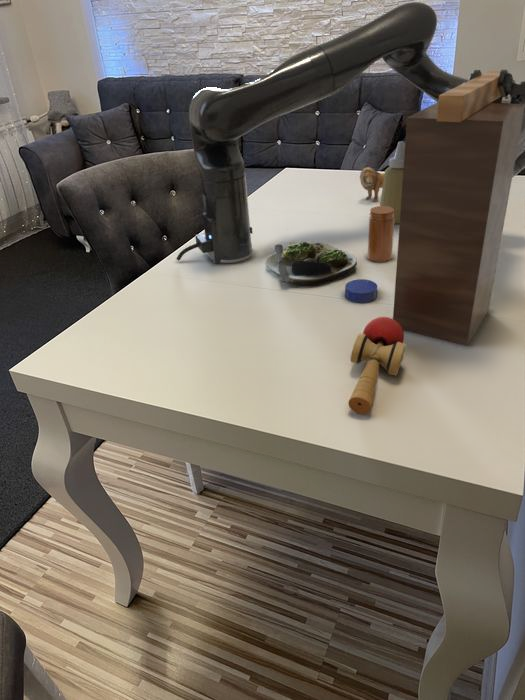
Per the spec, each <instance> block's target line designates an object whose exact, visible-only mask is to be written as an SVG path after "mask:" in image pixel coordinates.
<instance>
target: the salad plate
mask: <svg viewBox="0 0 525 700" xmlns="http://www.w3.org/2000/svg"><path fill="white" fill-rule="evenodd" d="M273 249H274V253H272V254H270V255H268V256H267V257H266V259H265V260H264V263H265V266H266V267H267V268H268V269H269V270H270V271H272V272H273V273H275V274H277V276H279V278H280V279H281V280H282V281H284V282H285V283H287V282H288V283H290V284H291V285H294V286H299V287H301V286H302V287H315V286H320V285H323V284H327V283H332V282H334V281H337V280H340V279H342V278H345V277H347V276H348V275H350V274H351V273H352V272H353V271H354V270H355V269H356V268H357V265H358V260H357V259H358V258H357V257H356V256H355V255H354V254H353V253H352V254H351V253H349V252H347V251H344V250H342V249H341V248H338V247H336V246H334V245H331V244H329V243H325V242H307V241H302V242H299V243H295V244H293V243H292V242H289V243H288V246H287V248H286V249H284V246H283V244H280V243H278V244H275V245H274V248H273Z"/></svg>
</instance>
